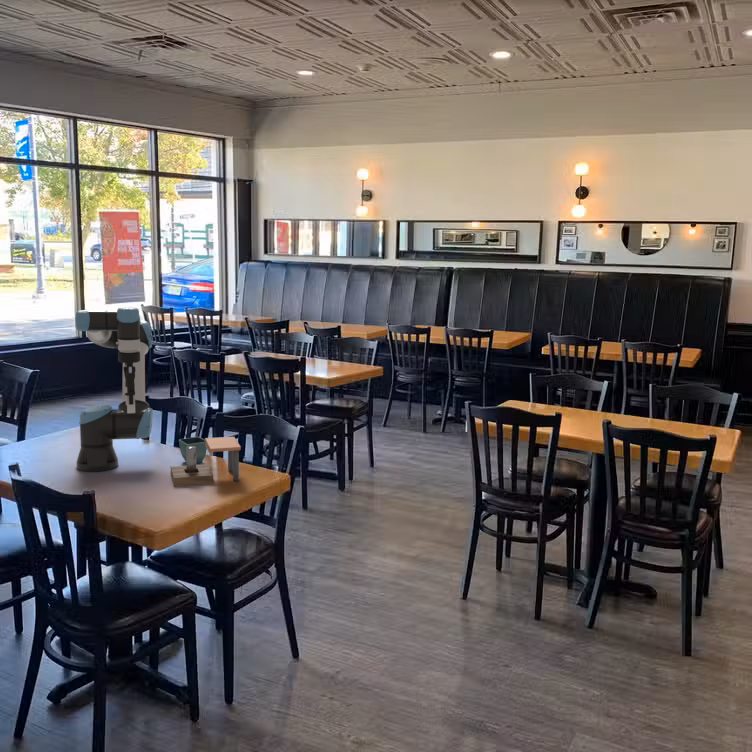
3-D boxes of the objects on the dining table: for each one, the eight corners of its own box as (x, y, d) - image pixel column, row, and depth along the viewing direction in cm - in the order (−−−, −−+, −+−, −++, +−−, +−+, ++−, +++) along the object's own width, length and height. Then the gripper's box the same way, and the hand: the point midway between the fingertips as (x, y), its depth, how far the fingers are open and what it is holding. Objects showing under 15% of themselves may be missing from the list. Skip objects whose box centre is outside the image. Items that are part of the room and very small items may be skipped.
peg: (186, 477, 285) (185, 446, 283) (195, 476, 286) (195, 445, 284) (187, 480, 282) (186, 449, 279) (197, 479, 283) (196, 448, 281)
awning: (205, 471, 293) (205, 438, 290) (233, 469, 296) (234, 436, 294) (210, 483, 279) (210, 448, 277) (240, 481, 283) (240, 446, 280)
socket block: (170, 474, 288) (170, 466, 287) (208, 471, 293) (208, 464, 292) (174, 485, 275) (173, 477, 274) (213, 482, 280) (213, 475, 279)
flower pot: (187, 466, 298) (186, 444, 297) (178, 460, 305) (178, 439, 304) (208, 463, 303) (207, 441, 302) (199, 457, 310) (198, 436, 309)
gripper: (117, 346, 282) (118, 401, 286) (118, 356, 259) (120, 417, 263) (138, 345, 285) (139, 401, 288) (141, 356, 262) (143, 416, 265)
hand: (130, 408), depth 276 cm, fingers open, 13 cm apart
